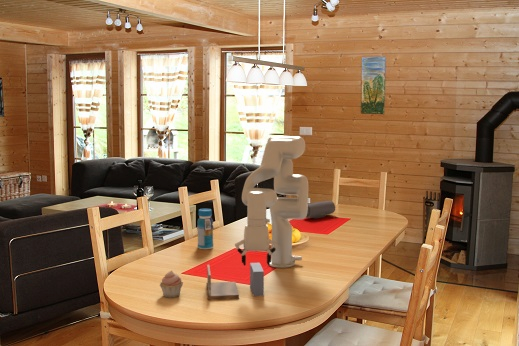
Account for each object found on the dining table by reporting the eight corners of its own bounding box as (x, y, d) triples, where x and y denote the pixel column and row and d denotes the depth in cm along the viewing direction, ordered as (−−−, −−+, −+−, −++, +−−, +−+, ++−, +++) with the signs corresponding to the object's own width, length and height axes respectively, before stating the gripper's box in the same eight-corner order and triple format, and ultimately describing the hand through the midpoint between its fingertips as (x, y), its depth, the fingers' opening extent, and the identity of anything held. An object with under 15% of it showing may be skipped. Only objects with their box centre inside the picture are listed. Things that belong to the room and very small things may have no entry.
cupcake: (188, 295, 229) (188, 270, 228) (170, 301, 222) (169, 276, 221) (173, 289, 236) (172, 265, 234) (154, 295, 229) (154, 271, 227)
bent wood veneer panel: (235, 285, 241) (235, 263, 240) (238, 298, 225) (238, 274, 224) (206, 286, 240) (206, 264, 238) (207, 299, 224) (207, 276, 223)
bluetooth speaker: (325, 213, 385) (325, 199, 384) (335, 216, 378) (336, 201, 377) (300, 218, 370) (301, 203, 369) (311, 220, 363) (311, 205, 362)
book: (259, 286, 240) (259, 262, 239) (263, 295, 229) (263, 271, 227) (250, 286, 240) (250, 263, 239) (253, 296, 228) (253, 271, 227)
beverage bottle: (194, 249, 297) (194, 210, 294) (200, 244, 305) (200, 207, 302) (210, 250, 295) (210, 211, 292) (215, 246, 303) (215, 208, 300)
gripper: (276, 220, 235) (276, 261, 237) (234, 220, 233) (234, 262, 235) (279, 223, 228) (279, 266, 230) (235, 224, 225) (235, 267, 227)
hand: (256, 264), depth 232 cm, fingers open, 9 cm apart
